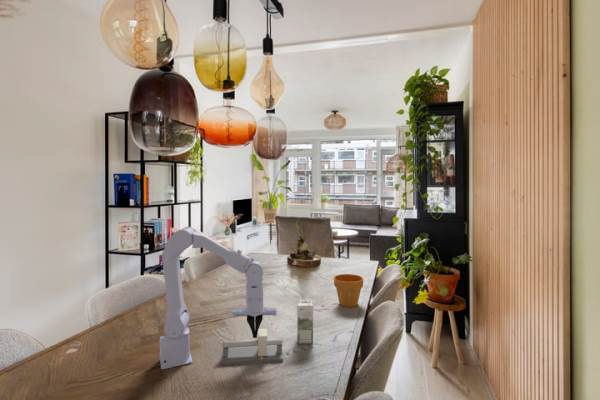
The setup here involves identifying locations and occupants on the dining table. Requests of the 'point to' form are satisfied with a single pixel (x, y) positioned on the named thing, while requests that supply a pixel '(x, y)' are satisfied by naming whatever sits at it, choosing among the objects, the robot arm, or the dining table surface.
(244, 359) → the pipe stand
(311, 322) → the syrup box
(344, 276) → the flower pot
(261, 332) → the collar
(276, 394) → the dining table surface
